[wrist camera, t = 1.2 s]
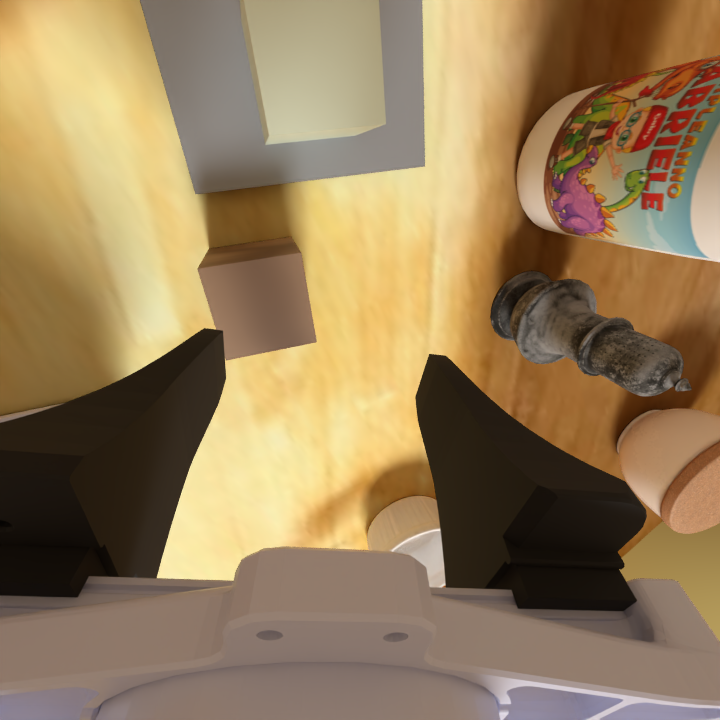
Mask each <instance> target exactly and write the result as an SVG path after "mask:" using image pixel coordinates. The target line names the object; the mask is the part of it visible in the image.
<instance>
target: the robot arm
mask: <svg viewBox="0 0 720 720" xmlns="http://www.w3.org/2000/svg"><path fill="white" fill-rule="evenodd" d="M225 380H226V370H225V354H224V337H223V330H214V329H205V328H204V329H203V330H201V331H199V332H198V333H196V334H195V335H193V336H192V337H191V338H189V339H188V340H186V341H185V342H183V343H182V344H180V345H179V346H177V347H176V348H174V349H173V350H171V351H170V352H168V353H167V354H165V355H164V356H162V357H160V358H159V359H157V360H155V361H154V362H152V363H150V364H149V365H147V366H145V367H143V368H142V369H140V370H138V371H137V372H135V373H133V374H131V375H129V376H127V377H125V378H123V379H121V380H119V381H117V382H115V383H113V384H111V385H109V386H106V387H104V388H102V389H100V390H97V391H95V392H92V393H90V394H87V395H84V396H82V397H79V398H77V399H74V400H72V401H69V402H67V403H62V404H57V405H53V406H48V407H43V408H38V409H33V410H28V411H23V412H19V413H14V414H9V415H4V416H0V720H720V642H719V640H718V639H717V637H716V636H715V634H714V633H713V631H712V630H711V629H710V627H709V626H708V624H707V623H706V621H705V620H704V619H703V617H702V616H701V614H700V613H699V611H698V610H697V609H696V607H695V606H694V604H693V603H692V601H691V600H690V599H689V597H688V596H687V594H686V593H685V591H684V590H683V588H682V587H681V585H680V584H679V583H678V581H675V580H670V579H669V580H668V579H644V578H640V579H633V580H630V581H627V582H626V581H625V579H624V577H623V576H622V574H621V572H620V570H619V569H622V568H624V562H623V560H622V559H621V557H620V555H619V554H618V551H619V550H620V549H621V548H622V547H623V546H624V545H625V544H626V543H627V542H628V541H629V540H631V539H632V538H633V537H634V536H635V535H636V534H637V533H638V532H639V531H640V529H641V528H642V527H643V525H644V523H645V520H646V517H647V515H646V509H645V508H644V507H643V505H642V504H641V502H640V501H639V500H638V498H637V497H636V496H635V494H634V493H633V491H632V490H631V489H630V487H629V486H628V485H627V483H626V482H625V481H623V480H621V479H619V478H617V477H614V476H612V475H610V474H608V473H606V472H604V471H602V470H599V469H597V468H595V467H593V466H591V465H589V464H587V463H585V462H583V461H581V460H579V459H577V458H575V457H574V456H572V455H570V454H568V453H566V452H564V451H563V450H561V449H559V448H557V447H556V446H554V445H552V444H551V443H549V442H548V441H546V440H544V439H543V438H541V437H540V436H538V435H537V434H535V433H534V432H532V431H531V430H529V429H528V428H526V427H525V426H523V425H522V424H521V423H519V422H518V421H517V420H515V419H514V418H513V417H511V416H510V415H509V414H508V413H506V412H505V411H504V410H503V409H501V408H500V407H499V406H498V405H497V404H496V403H495V402H493V401H492V400H491V399H490V398H489V397H488V396H487V395H486V394H484V393H483V392H482V391H481V390H480V389H479V388H478V387H477V386H476V385H475V384H474V383H473V382H472V381H471V380H470V379H469V378H468V377H467V376H466V375H465V374H464V373H463V372H462V371H461V370H460V369H459V368H458V367H457V366H456V365H455V364H454V363H453V362H452V361H451V360H450V359H449V358H448V357H446V356H443V355H434V354H429V357H428V360H427V363H426V366H425V369H424V372H423V375H422V378H421V381H420V384H419V388H418V391H417V394H416V408H417V416H418V422H419V427H420V430H421V434H422V438H423V442H424V446H425V450H426V453H427V457H428V461H429V465H430V468H431V472H432V477H433V481H434V487H435V493H436V500H437V507H438V514H439V523H440V531H441V539H442V549H443V560H444V570H445V584H446V588H441V587H430V586H429V581H428V575H427V569H426V567H425V566H424V565H423V564H421V563H420V562H419V561H417V560H416V559H415V558H413V557H412V556H411V555H407V554H402V553H397V552H392V551H374V550H351V549H329V548H306V547H276V548H266V549H262V550H259V551H257V552H255V553H253V554H251V555H249V556H247V557H245V558H244V559H242V560H241V562H240V564H239V566H238V568H237V570H236V572H235V577H234V581H223V580H191V579H160V578H157V574H158V570H159V567H160V563H161V559H162V555H163V552H164V548H165V545H166V541H167V538H168V535H169V531H170V528H171V524H172V521H173V518H174V514H175V511H176V508H177V505H178V502H179V498H180V495H181V492H182V489H183V486H184V483H185V480H186V477H187V474H188V471H189V468H190V466H191V463H192V461H193V458H194V456H195V454H196V451H197V449H198V447H199V445H200V443H201V441H202V438H203V436H204V434H205V432H206V430H207V428H208V425H209V423H210V421H211V419H212V417H213V415H214V412H215V410H216V408H217V406H218V403H219V400H220V397H221V394H222V391H223V387H224V384H225Z"/></svg>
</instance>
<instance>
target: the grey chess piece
mask: <svg viewBox="0 0 720 720" xmlns="http://www.w3.org/2000/svg"><path fill="white" fill-rule="evenodd" d="M491 323H492V326H493V328H494V330H495V332H496V333H497V334H498V335H499V336H500V337H502V338H504V339H507V340H514V341H515V342H516V344H517V346H518V348H519V350H520V352H521V354H522V355H523V356H524V357H525V358H526V359H527V360H529V361H531V362H534V363H536V364H548V363H552V362H556V361H558V360H560V359H562V358H565V357H568V358H570V359H571V360H573V361H575V362H577V364H578V367H579V369H580V370H581V371H582V372H583V373H584V374H587V375H590V376H597V375H602V376H604V377H605V378H607V379H609V380H610V381H612V382H614V383H616V384H617V385H619V386H621V387H623V388H624V389H626V390H628V391H630V392H631V393H634V394H636V395H639V396H654V395H658V394H660V393H662V392H664V391H666V390H668V389H670V388H671V387H673V386H674V387H675V390H676V391H686V390H691V389H692V388H691V387H690V384H689V383H688V379H687V378H684V379H680V377H681V374H682V372H683V366H684V362H683V358H682V356H681V354H680V352H679V351H678V350H677V349H675V348H674V347H672V346H670V345H668V344H665V343H663V342H660V341H658V340H656V339H653V338H651V337H648V336H646V335H643V334H641V333H638V332H636V331H634V329H633V325H632V324H631V323H630V322H629V321H628V320H626V319H624V318H617V317H616V318H611V319H608V318H606V317H603V316H601V315H598V314H596V298H595V295H594V292H593V291H592V289H591V288H590V287H589V285H587V284H586V283H584V282H582V281H580V280H575V279H565V280H558V281H551V280H550V278H549V277H548V276H547V275H545V274H543V273H541V272H536V271H528V272H523V273H521V274H518V275H516V276H514V277H513V278H512V279H510V280H509V281H508V282H506V283H505V284H504V286H503V287H502V288H501V289H500V290H499V292H498V294H497V295H496V297H495V299H494V302H493V305H492V308H491Z"/></svg>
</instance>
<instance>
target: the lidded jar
mask: <svg viewBox="0 0 720 720" xmlns="http://www.w3.org/2000/svg"><path fill="white" fill-rule="evenodd" d="M617 452H618V454H619V462H620V467H621V470H622V473H623V476H624V478H625V479H626V481H627V483H628V484H629V486H630V487H631V489H632V490H633V491H634V492H635V494H636V495H637V496H638V497H639V498H640V499H641V500H642V501H643V502H644V503H645V504H646V505H647V506H648V507H649V508H650V509H651V510H652V511H654V512H655V513H656V514H657V515H658V516H660V517H661V518H662V520H663V521H664V522H665V523H666V524H667V525H668V526H669V527H671V528H672V529H673V530H675V531H676V532H679V533H686V534H688V533H695V532H699V531H702V530H705V529H708V528H710V527H712V526H714V525H716V524H718V523H720V416H717V415H714V414H711V413H708V412H704V411H700V410H695V409H684V408H675V409H666V410H657V409H656V410H650V411H647V412H645V413H643V414H641V415H639V416H638V417H636V418H635V419H634V420H633V421H632V422H630V423H629V424H628V425H627V427H626V428H625V429H624V430H623V432H622V433H621V435H620V437H619V439H618V442H617Z"/></svg>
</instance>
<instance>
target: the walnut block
mask: <svg viewBox="0 0 720 720" xmlns="http://www.w3.org/2000/svg"><path fill="white" fill-rule="evenodd" d="M198 272H199V275H200V279H201V282H202V285H203V288H204V291H205V295H206V298H207V301H208V304H209V307H210V311H211V314H212V317H213V320H214V323H215V327H216V330H223V337H224V354H225V358H226V360H231V359H235V358H240V357H245V356H250V355H255V354H260V353H265V352H270V351H275V350H280V349H285V348H290V347H295V346H300V345H305V344H310V343H315V342H317V341H316V335H315V329H314V324H313V318H312V312H311V306H310V301H309V295H308V289H307V284H306V278H305V272H304V266H303V261H302V255H301V252H300V250H299V248H298V247H297V245H296V244H295V242H294V240H293V239H292V237H285V238H279V239H272V240H265V241H258V242H252V243H245V244H238V245H231V246H225V247H218V248H211V249H209V250H208V252H207V253H206V255H205V257H204V259H203V260H202V262H201V264H200V265H199V267H198Z"/></svg>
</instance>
